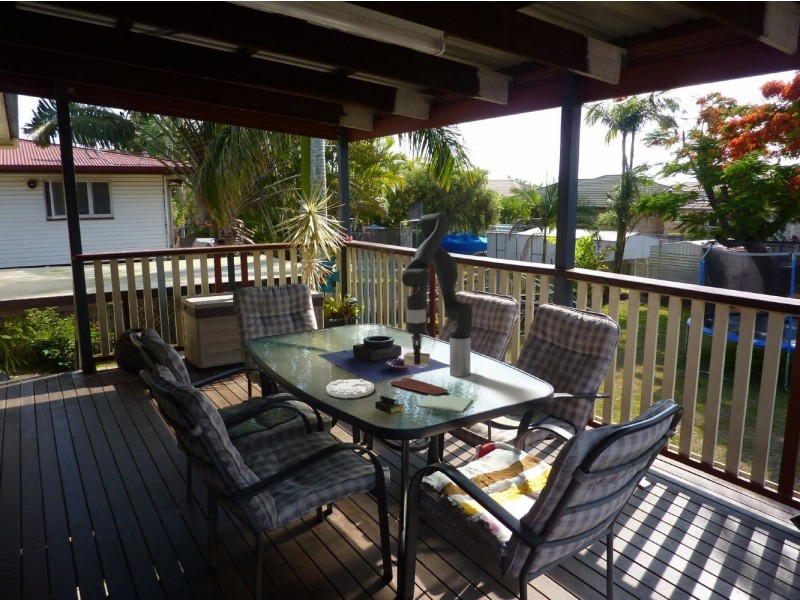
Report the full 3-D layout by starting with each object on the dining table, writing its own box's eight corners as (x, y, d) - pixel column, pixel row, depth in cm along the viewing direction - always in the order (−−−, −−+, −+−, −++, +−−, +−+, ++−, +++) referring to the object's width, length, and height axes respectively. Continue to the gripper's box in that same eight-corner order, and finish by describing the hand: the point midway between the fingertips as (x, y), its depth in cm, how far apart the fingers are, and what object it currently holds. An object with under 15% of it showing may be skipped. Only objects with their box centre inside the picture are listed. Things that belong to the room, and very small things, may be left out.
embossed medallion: (383, 391, 243) (383, 384, 242) (347, 403, 229) (347, 396, 229) (353, 381, 257) (353, 375, 256) (316, 391, 243) (316, 385, 243)
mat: (429, 395, 235) (429, 393, 235) (472, 400, 229) (472, 398, 228) (417, 406, 223) (417, 405, 223) (462, 412, 216) (462, 410, 216)
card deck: (408, 361, 232) (408, 352, 231) (429, 363, 229) (429, 353, 228) (404, 365, 227) (403, 355, 226) (426, 367, 224) (426, 356, 223)
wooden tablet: (388, 385, 249) (388, 381, 249) (404, 379, 256) (404, 376, 256) (434, 397, 231) (434, 393, 230) (451, 391, 238) (450, 387, 237)
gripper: (406, 316, 232) (407, 357, 235) (406, 324, 218) (407, 367, 221) (425, 316, 232) (426, 357, 235) (426, 323, 218) (427, 367, 220)
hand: (417, 361), depth 228 cm, fingers closed on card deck, 6 cm apart
